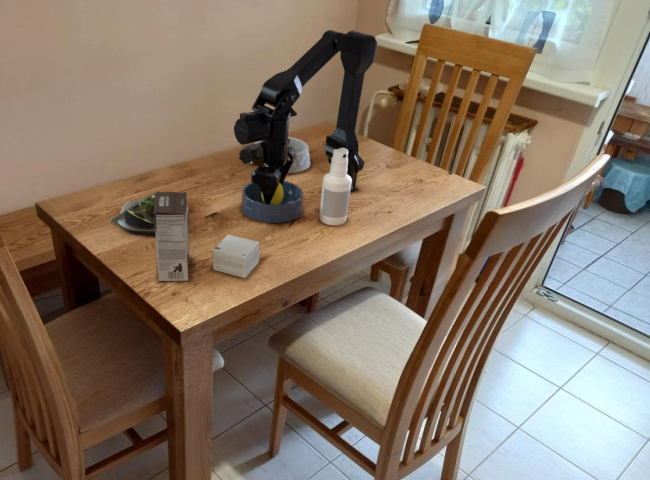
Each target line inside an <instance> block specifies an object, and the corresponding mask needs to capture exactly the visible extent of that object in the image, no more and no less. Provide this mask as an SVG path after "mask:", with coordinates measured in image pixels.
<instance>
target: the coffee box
mask: <svg viewBox="0 0 650 480" xmlns="http://www.w3.org/2000/svg"><path fill="white" fill-rule="evenodd" d="M154 193H155V205H154V220H155V233H156V236H155V243H156V257H157V259H156V260H157V271H158V272H157V273H158V281H159V282H187V281H189V280H190V243H189V241H190V240H189V217H188V216H189V214H188V215H187V206H188V199H187V192H186V191H181V192H180V191H177V192H176V191H156V192H154Z"/></svg>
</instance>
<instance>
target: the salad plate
mask: <svg viewBox="0 0 650 480" xmlns="http://www.w3.org/2000/svg"><path fill="white" fill-rule="evenodd" d="M155 193H156V192H152V193H150V194H149V195H147V196H146V197H144V198H141V199H140V198H139V199H133V200H130V201H128V202H126V203H124V205H123V206H122V208H121V210H120V213H119V214H117V215H115V216H114V217H113V218H112V219H110V220H109V221H110V224H114V225H116V226H118V227H119V228H121V229H122V230H123V231H124V232H125V233H128V234H131V235H135V236H148V237H156V233H155V220H154V205H155ZM187 215H188V216H189V205H187Z"/></svg>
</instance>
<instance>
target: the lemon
mask: <svg viewBox="0 0 650 480" xmlns="http://www.w3.org/2000/svg"><path fill="white" fill-rule="evenodd" d="M283 197H284V192H283V187H282V185H281V184H280V183H279V185H278V187H277V190H276V192H275V194H274V196H273V198H272V201H271V203H270V205H280V204H281V202H282V201H283ZM262 201H263V203H264V204H265V202H264V198H263V194H262Z"/></svg>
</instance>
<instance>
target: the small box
mask: <svg viewBox="0 0 650 480" xmlns="http://www.w3.org/2000/svg"><path fill="white" fill-rule="evenodd" d="M260 243H261V242H260V241H257V240H253V239H248V238H245V237H241V236H236V235H233V234H227V235H226V236H225V237H224V238H223V239H222V240H221V241H220V242H219V243H218V244H217V245H216V246H215V247H214V248H213V249H212V269H213V271H217V272H221V273H224V274H228V275H232V276H235V277H239V278H243V279H246V278H247V277H248V276H249V274H251V272H252V271H253V270H254V269H255V268H256V266H257V265H258V264H259V262H260V245H261V244H260Z"/></svg>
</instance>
